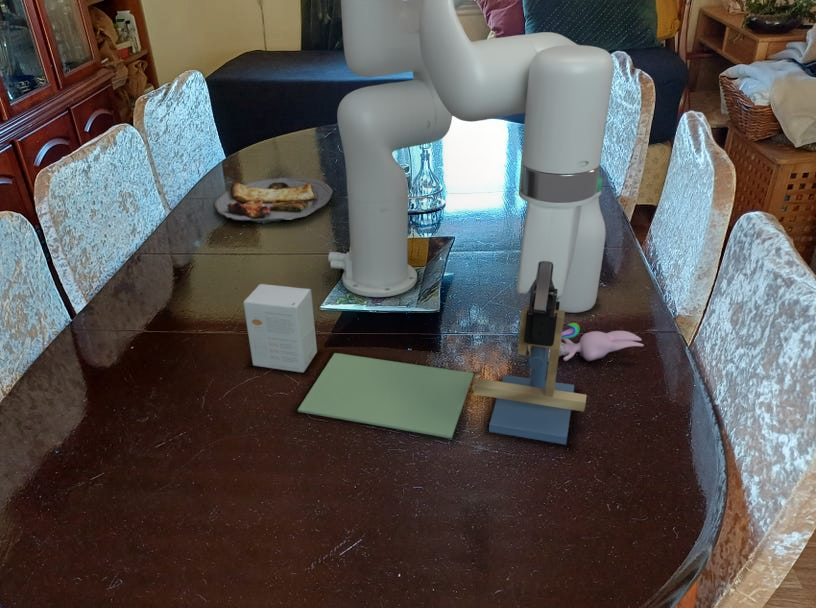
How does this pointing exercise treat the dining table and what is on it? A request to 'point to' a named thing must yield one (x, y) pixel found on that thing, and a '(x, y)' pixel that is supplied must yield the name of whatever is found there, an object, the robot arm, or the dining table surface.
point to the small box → (281, 327)
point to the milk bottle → (585, 259)
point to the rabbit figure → (594, 343)
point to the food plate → (273, 199)
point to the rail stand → (532, 407)
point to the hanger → (530, 393)
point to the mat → (389, 394)
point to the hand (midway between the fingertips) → (540, 336)
